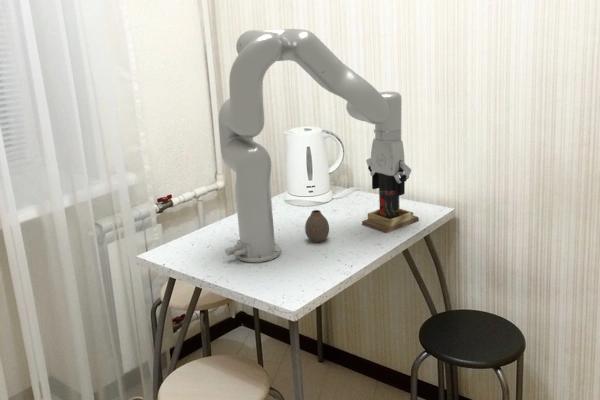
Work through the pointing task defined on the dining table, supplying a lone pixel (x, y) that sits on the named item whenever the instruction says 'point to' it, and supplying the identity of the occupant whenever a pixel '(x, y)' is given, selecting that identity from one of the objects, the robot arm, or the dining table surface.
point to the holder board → (389, 221)
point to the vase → (317, 227)
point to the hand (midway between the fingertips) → (388, 191)
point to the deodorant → (388, 197)
